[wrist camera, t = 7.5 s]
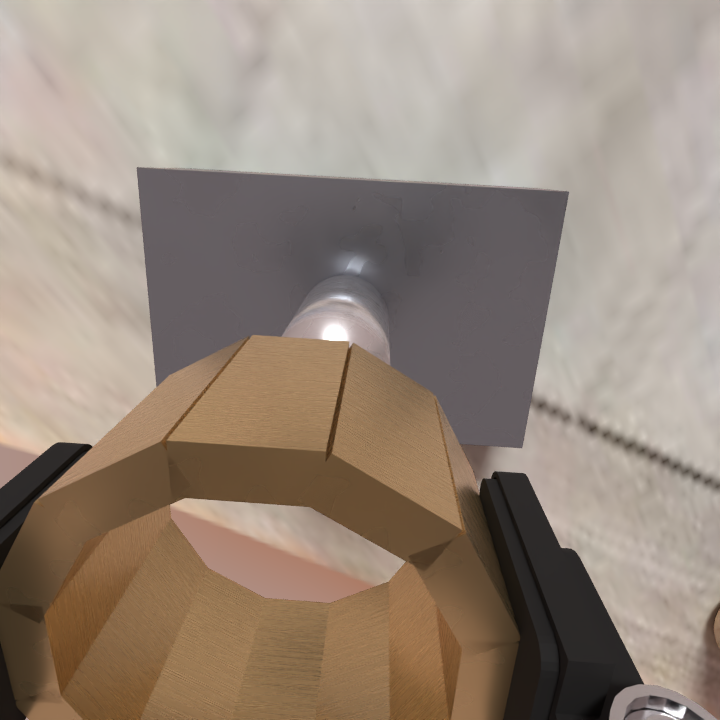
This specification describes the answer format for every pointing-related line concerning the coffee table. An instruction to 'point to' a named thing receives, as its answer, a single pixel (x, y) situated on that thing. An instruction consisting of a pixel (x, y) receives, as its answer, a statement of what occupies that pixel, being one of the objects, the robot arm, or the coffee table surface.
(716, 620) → the stacking toy
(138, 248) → the coffee table surface
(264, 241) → the grey peg board
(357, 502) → the bronze ring
